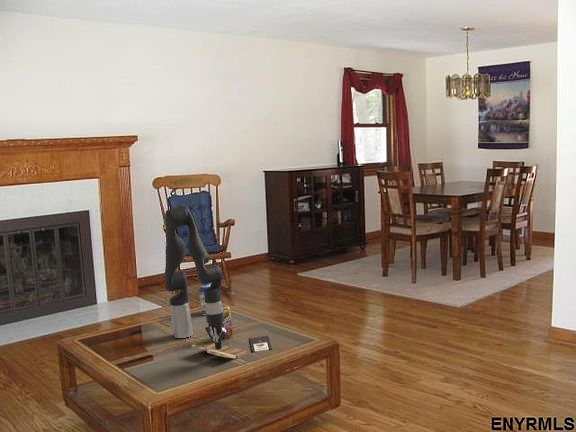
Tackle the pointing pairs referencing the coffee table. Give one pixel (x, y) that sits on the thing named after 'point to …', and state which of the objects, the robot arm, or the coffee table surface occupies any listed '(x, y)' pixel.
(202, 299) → the beverage bottle
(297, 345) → the coffee table surface
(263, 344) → the chocolate bar
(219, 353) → the plank
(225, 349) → the laid row
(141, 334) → the coffee table surface
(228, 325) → the candy box
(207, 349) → the plank
